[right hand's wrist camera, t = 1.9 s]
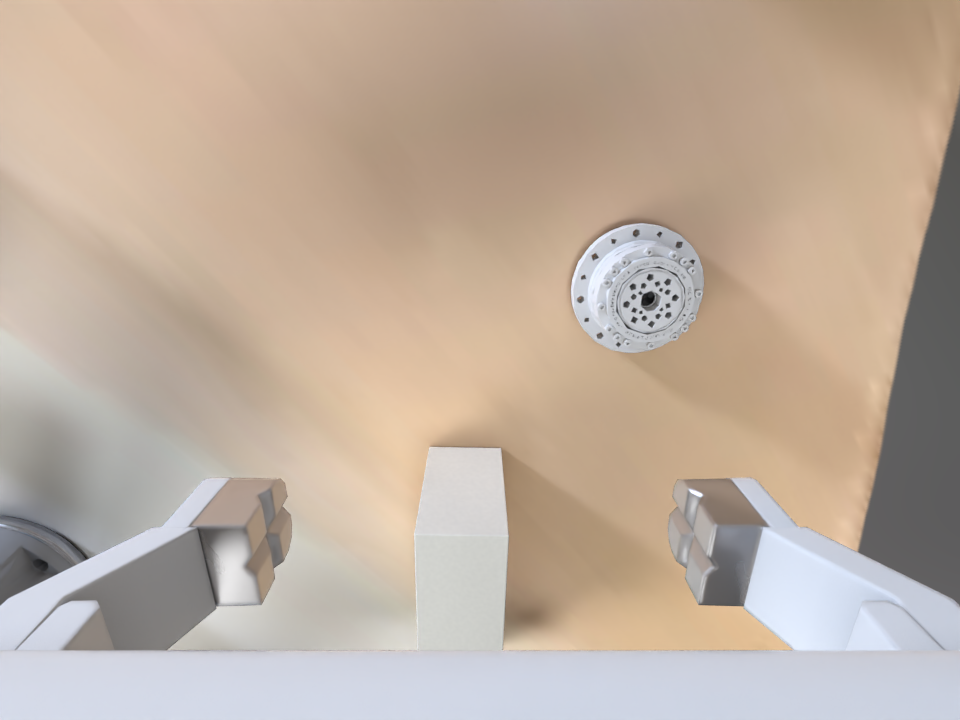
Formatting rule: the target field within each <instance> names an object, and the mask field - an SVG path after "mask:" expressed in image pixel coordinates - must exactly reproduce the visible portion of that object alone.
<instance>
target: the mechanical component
mask: <svg viewBox="0 0 960 720" xmlns="http://www.w3.org/2000/svg"><path fill="white" fill-rule="evenodd" d="M635 229H636V232H635V235H633V231H634V230H635ZM657 233H658V234H657ZM611 239H613V241H611ZM677 242H678V244H677V245H676V243H677ZM593 254H596V256H595V257H594V258H592V255H593ZM582 275H584V276H583V277H582V278H581V276H582ZM630 285H631V286H630ZM703 288H704V275H703V268H702V265H701V262H700V259H699V256H698V255H697V253H696V252H695V250H694V248H693V247H692V246H691V245H690V244H689V243H688V242H687V241H686V240H685V239H684V238H683V237H682V236H681V235H680V234H678V233H675V232H673V231H671V230H669V229H667V228H665V227H662V226H659V225H652V224H646V223H639V224H631V225H624V226H622V227H619V228H616V229H614V230H611V231H609V232H608V233H606V234H604V235H603V236H601V237H599V238H598V239H597V240H596V241H595V242H594V243H593V244H592V245H591V246H589V248H588V249H587V251H586V252H585V254H584V255H583V256H582V258H581V259H580V261H579V262H578V264H577V267H576V270H575V273H574V276H573V279H572V286H571V299H572V306H573V309H574V312H575V315H576V318H577V319H578V321H579V323H580V325H581V326H582V328H583V329H584V330H585V331H586V332H587V334H588V335H589V336H590V337H591V338H592V339H593V340H594V341H596V342H597V343H599V344H601V345H603V346H605V347H607V348H609V349H611V350H614V351H620V352H625V353H637V352H644V351H649V350H653V349H655V348H658V347H660V346H662V345H665V344H666V343H668V342H670V341H671V340H673V341H674V340H677V339H678V338H679V335H681V334H682V333H683V332H687V331H688V329H689V328H688V327H689V325H690V323H691V322H693V321H695V320H696V314H697V312H698V308H699V305H700V303H701V300H702V296H703ZM580 296H581V299H577V298H578V297H580ZM598 333H600V334H598ZM596 334H598V335H596Z"/></svg>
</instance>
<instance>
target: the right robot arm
mask: <svg viewBox="0 0 960 720" xmlns="http://www.w3.org/2000/svg"><path fill="white" fill-rule="evenodd" d="M287 497H288V496H287V491H286V486H285V483H284V482H283V481H282V480H281V479H265V478H208V479H204V480H203V481H202V482H201V483H200V485H199V486H198V487H197V488H196V489H195V490H194V491H193V492H192V493H191V495H190V496H189V497H188V498H187V499H186V500H185V501H184V502H183V503H182V505H181V506H180V507H179V508H178V509H177V510H176V511H175V512H174V513H173V515H172V516H171V517H170V518H169V519H168V520H167V521H166V522H165V523H164V525H163V526H162V527H153V528H151V529H149V530H147V531H145V532H142V533H140V534H138V535H136V536H134V537H132V538H130V539H128V540H126V541H124V542H122V543H120V544H118V545H116V546H114V547H112V548H110V549H108V550H106V551H104V552H102V553H100V554H98V555H96V556H94V557H92V558H90V559H88V560H86V561H83V562H81V563H79V564H77V565H75V566H73V567H71V568H69V569H67V570H65V571H63V572H61V573H59V574H57V575H55V576H53V577H51V578H49V579H47V580H45V581H43V582H41V583H39V584H37V585H35V586H33V587H31V588H29V589H27V590H24V591H22V592H20V593H18V594H16V595H14V596H12V597H10V598H8V599H7V600H6V601H5V602H4V603H3V604H2V605H1V606H0V720H960V605H959V604H958V603H956V602H955V601H954V600H953V599H951V598H949V597H947V596H945V595H943V594H941V593H939V592H937V591H935V590H933V589H931V588H929V587H927V586H925V585H923V584H921V583H919V582H917V581H915V580H913V579H911V578H909V577H907V576H905V575H903V574H901V573H899V572H897V571H895V570H893V569H891V568H889V567H886V566H884V565H882V564H880V563H878V562H876V561H874V560H872V559H870V558H868V557H866V556H864V555H862V554H860V553H858V552H856V551H854V550H852V549H850V548H848V547H846V546H844V545H842V544H840V543H838V542H836V541H834V540H832V539H830V538H828V537H826V536H824V535H822V534H820V533H817V532H815V531H813V530H811V529H809V528H807V527H798V526H797V525H796V523H795V522H794V521H793V520H792V519H791V518H790V517H789V516H788V515H787V513H786V512H785V511H784V510H783V509H782V508H781V507H780V506H779V505H778V503H777V502H776V501H775V500H774V499H773V498H772V497H771V496H770V495H769V493H768V492H767V491H766V490H765V489H764V488H763V487H762V486H761V484H760V483H759V482H758V481H757V480H755V479H753V478H751V477H747V478H726V479H680V480H677V481H676V484H675V486H674V490H673V496H672V497H673V498H674V500H675V502H676V504H677V505H678V507H677V508H676V509H675V510H674V511H673V512H672V513H671V514H670V515H669V523H668V535H669V543H670V547H671V550H672V553H673V555H674V557H675V559H676V561H677V562H678V563H680V564H681V565H682V566H684V567H685V568H687V569H686V575H685V579H686V581H687V583H688V585H689V587H690V589H691V591H692V593H693V595H694V597H695V599H696V601H697V603H698V605H716V606H744V609H745V610H746V611H747V612H749V613H750V614H751V615H752V616H753V617H755V618H756V619H757V620H758V621H759V622H761V623H762V624H763V625H764V626H765V627H767V628H768V629H769V630H770V631H771V632H773V633H774V634H775V635H776V636H777V637H779V638H780V639H781V640H782V641H783V642H785V643H786V644H787V645H788V646H789V647H791V648H792V649H793V650H512V651H465V650H167V649H168V648H170V647H171V646H172V645H173V644H174V643H176V642H177V641H178V640H179V639H180V638H182V637H183V636H184V635H185V634H186V633H188V632H189V631H190V630H191V629H192V628H194V627H195V626H196V625H197V624H198V623H200V622H201V621H202V620H203V619H205V618H206V617H207V616H208V615H209V614H211V613H212V612H213V611H214V610H215V609H216V606H243V605H262V603H263V601H264V599H265V597H266V595H267V593H268V591H269V589H270V587H271V585H272V583H273V581H274V579H275V575H274V569H273V568H275V567H276V566H278V565H279V564H281V563H282V562H283V561H284V559H285V557H286V555H287V553H288V551H289V547H290V542H291V538H292V522H291V515H290V514H289V513H288V512H287V511H286V510H285V509H284V508H283V507H282V505H283V504H284V502H285V500H286V498H287Z"/></svg>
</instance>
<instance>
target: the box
mask: <svg viewBox="0 0 960 720" xmlns="http://www.w3.org/2000/svg"><path fill="white" fill-rule="evenodd" d="M414 541H415V576H416V610H417V645H418V650H465V651H503V640H504V621H505V602H506V582H507V563H508V544H509V531H508V520H507V508H506V496H505V485H504V473H503V462H502V450H501V448H466V447H429V452H428V458H427V464H426V470H425V475H424V481H423V487H422V493H421V499H420V505H419V510H418V516H417V522H416V528H415V534H414Z"/></svg>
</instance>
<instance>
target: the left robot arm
mask: <svg viewBox="0 0 960 720" xmlns="http://www.w3.org/2000/svg"><path fill="white" fill-rule="evenodd" d="M86 560H87V559H86V558H85V557H84V556H83V554H82V553H81V552H80V551H79V550H78V549H77V548H76V547H75V546H73V545H72V544H71V543H70V542H69V541H67V540H66V539H64V538H63V537H62V536H60V535H58V534H57V533H55V532H53V531H51V530H49V529H47V528H45V527H43V526H41V525H39V524H36V523H33V522H30V521H27V520H23V519H19V518H14V517H8V516H0V606H1V605H2V604H3V603H4V602H5V601H6V600H7V599H8V598H10V597H12V596H14V595H16V594H18V593H20V592H22V591H24V590H27V589H29V588H31V587H33V586H35V585H37V584H39V583H41V582H43V581H45V580H47V579H49V578H51V577H53V576H55V575H57V574H59V573H61V572H63V571H65V570H67V569H69V568H71V567H73V566H75V565H77V564H79V563H81V562H83V561H86Z"/></svg>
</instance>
